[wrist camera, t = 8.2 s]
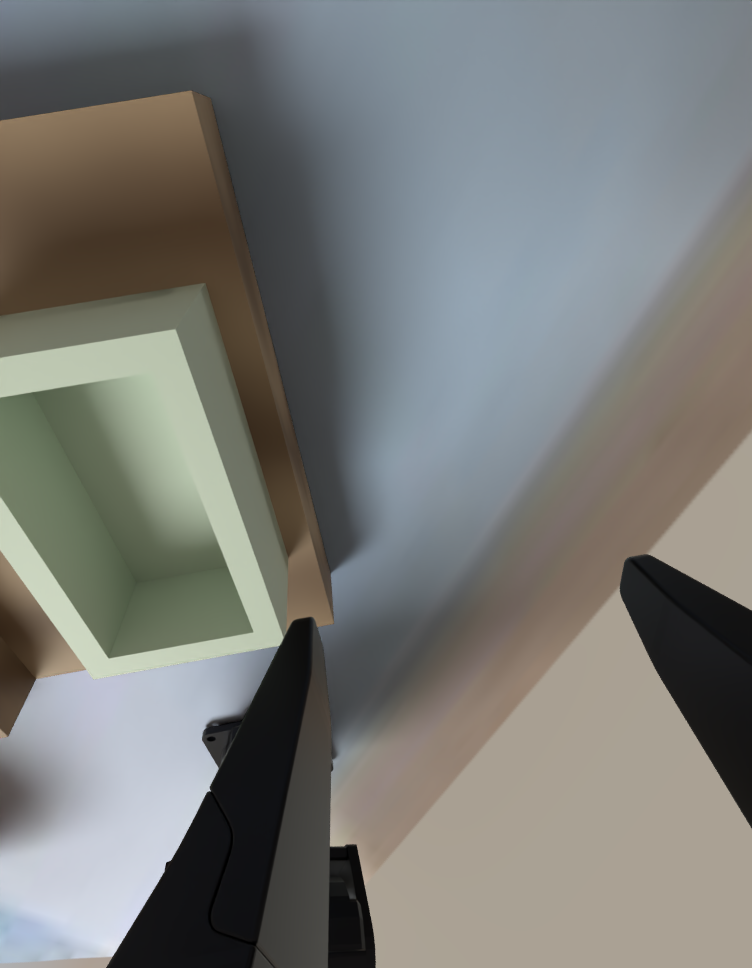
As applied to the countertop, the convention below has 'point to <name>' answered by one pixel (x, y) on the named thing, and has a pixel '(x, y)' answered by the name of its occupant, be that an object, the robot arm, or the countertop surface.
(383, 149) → the countertop surface
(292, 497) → the walnut shelf
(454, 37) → the countertop surface
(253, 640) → the sage tray
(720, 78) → the countertop surface
